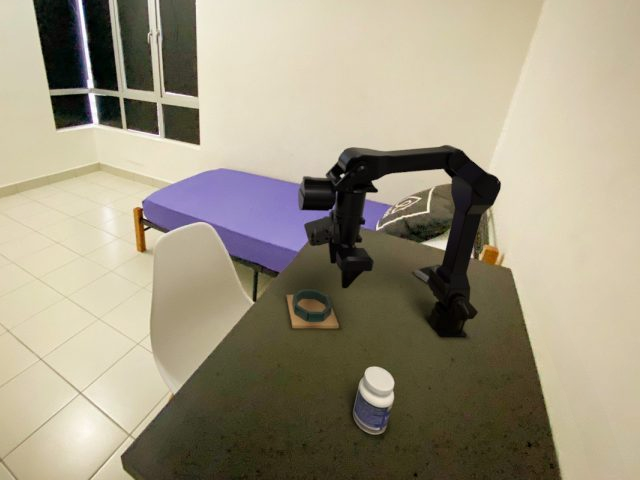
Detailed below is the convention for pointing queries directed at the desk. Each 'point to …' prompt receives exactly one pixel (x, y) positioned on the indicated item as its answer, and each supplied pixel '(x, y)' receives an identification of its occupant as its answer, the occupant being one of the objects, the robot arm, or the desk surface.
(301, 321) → the dock
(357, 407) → the pill bottle
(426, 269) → the cell phone
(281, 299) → the desk surface
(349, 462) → the desk surface
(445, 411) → the desk surface
